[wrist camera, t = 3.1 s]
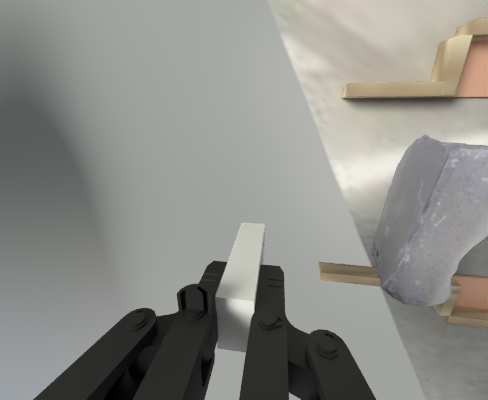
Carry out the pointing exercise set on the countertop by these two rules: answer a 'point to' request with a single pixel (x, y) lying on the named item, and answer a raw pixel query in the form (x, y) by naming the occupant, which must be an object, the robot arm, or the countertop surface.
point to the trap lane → (441, 85)
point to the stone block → (431, 219)
